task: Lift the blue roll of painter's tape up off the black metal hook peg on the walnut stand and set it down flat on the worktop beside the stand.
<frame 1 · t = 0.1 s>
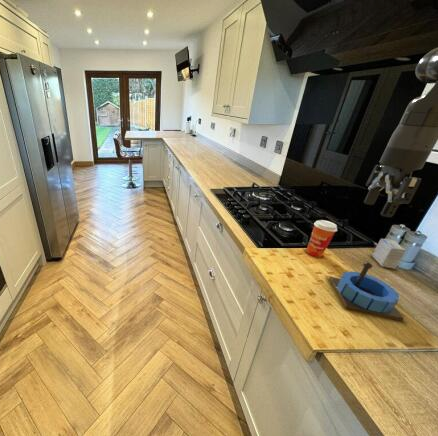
hand: (376, 209, 62), 31 cm above the worktop, tool pointing down, fingers open, 8 cm apart
tape: (363, 295, 75), point 1 cm above the worktop, touching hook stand
paper cup: (313, 253, 98), on the worktop
medicine box: (382, 262, 94), on the worktop
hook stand: (361, 298, 75), on the worktop
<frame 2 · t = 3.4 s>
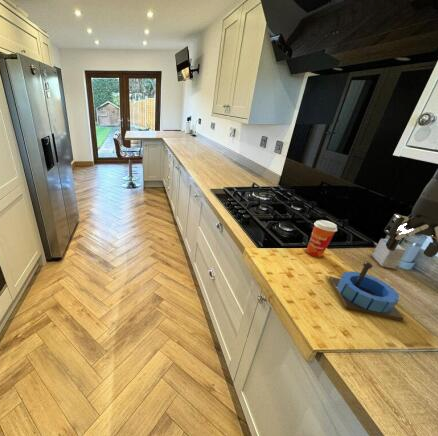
hand: (408, 252, 66), 19 cm above the worktop, tool pointing down, fingers open, 8 cm apart
nothing on the worktop moved.
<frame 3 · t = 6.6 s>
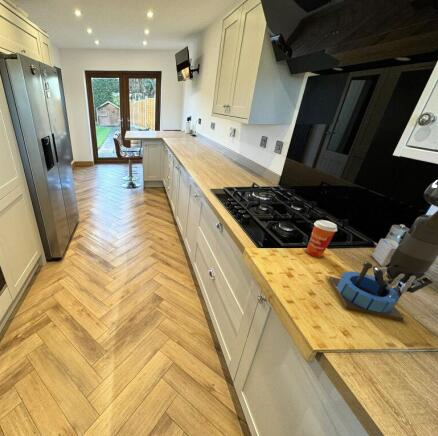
hand: (386, 297, 73), 2 cm above the worktop, tool pointing down, fingers closed on tape, 2 cm apart
tape: (363, 295, 75), point 1 cm above the worktop, touching gripper, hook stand
everything else where it was.
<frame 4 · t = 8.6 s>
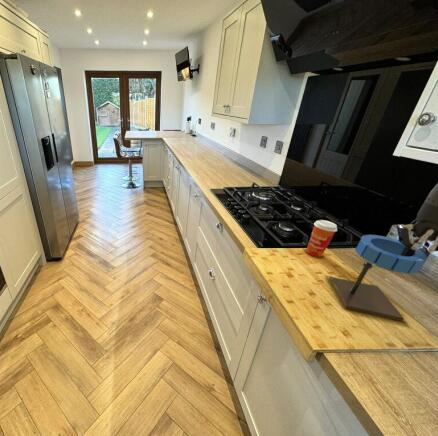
hand: (411, 259, 67), 16 cm above the worktop, tool pointing down, fingers closed on tape
tape: (385, 258, 69), point 16 cm above the worktop, touching gripper
everything else where it was.
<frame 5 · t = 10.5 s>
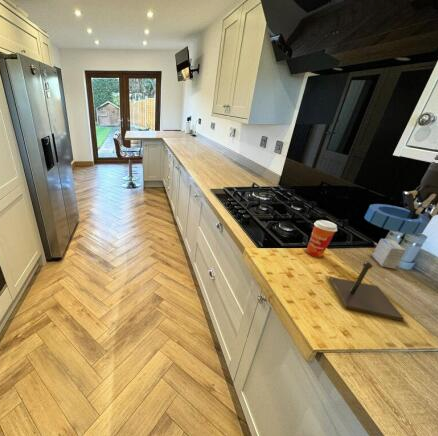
hand: (415, 224, 73), 23 cm above the worktop, tool pointing down, fingers closed on tape
tape: (391, 223, 75), point 22 cm above the worktop, touching gripper
everything else where it was.
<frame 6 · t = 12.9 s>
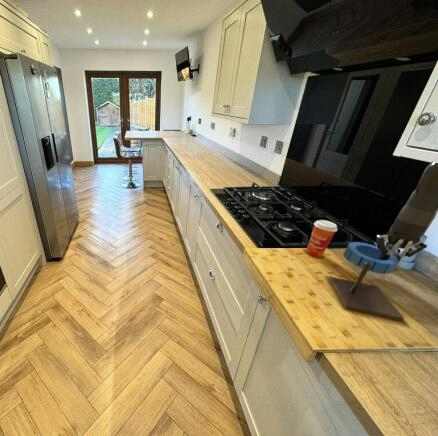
hand: (387, 262, 83), 6 cm above the worktop, tool pointing down, fingers closed on tape
tape: (366, 261, 85), point 5 cm above the worktop, touching gripper
everything else where it was.
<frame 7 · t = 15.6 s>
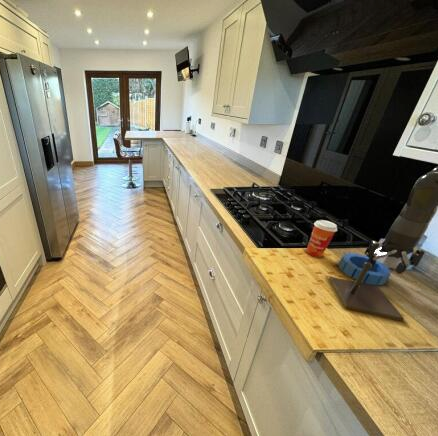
hand: (383, 269, 85), 3 cm above the worktop, tool pointing down, fingers open, 8 cm apart
tape: (360, 272, 87), on the worktop
everything else where it was.
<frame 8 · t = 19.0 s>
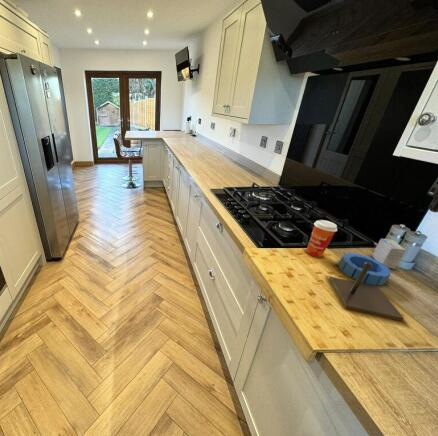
nothing on the worktop moved.
at the end: tape inside the target area (0.3 cm from its centre), on the worktop; tape tilted 0°; the gripper is holding nothing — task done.
